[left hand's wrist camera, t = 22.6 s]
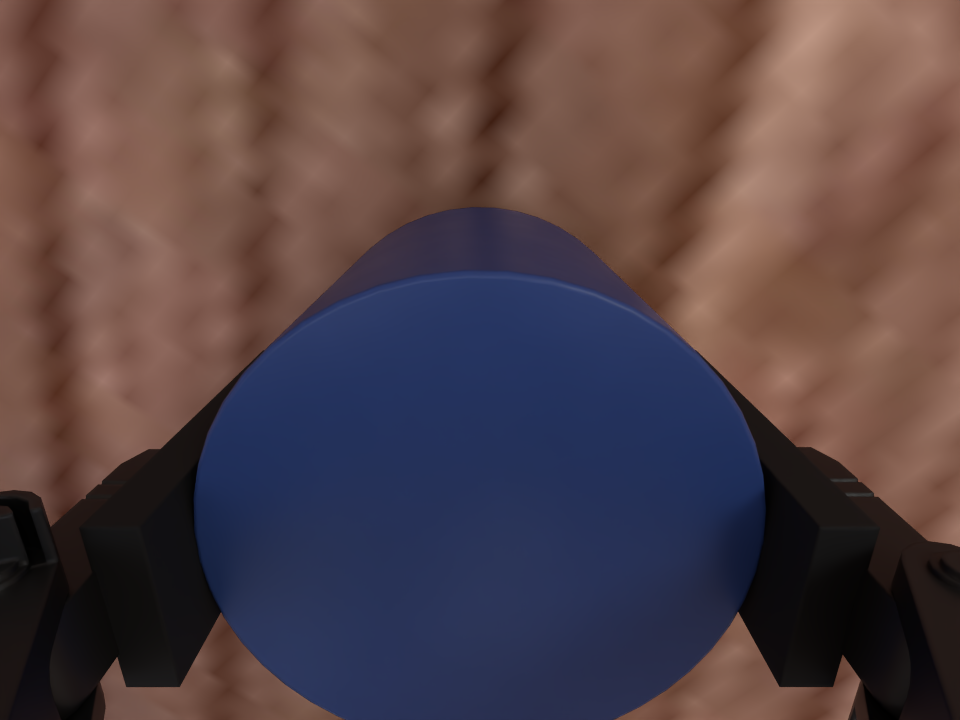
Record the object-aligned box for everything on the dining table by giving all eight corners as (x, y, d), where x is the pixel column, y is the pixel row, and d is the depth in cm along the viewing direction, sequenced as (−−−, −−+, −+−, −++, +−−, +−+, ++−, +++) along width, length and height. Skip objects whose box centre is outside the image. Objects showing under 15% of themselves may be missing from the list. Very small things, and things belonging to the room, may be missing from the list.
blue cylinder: (277, 426, 16) (122, 644, 9) (403, 142, 14) (320, 141, 7) (538, 540, 18) (577, 805, 11) (699, 303, 15) (894, 445, 8)
